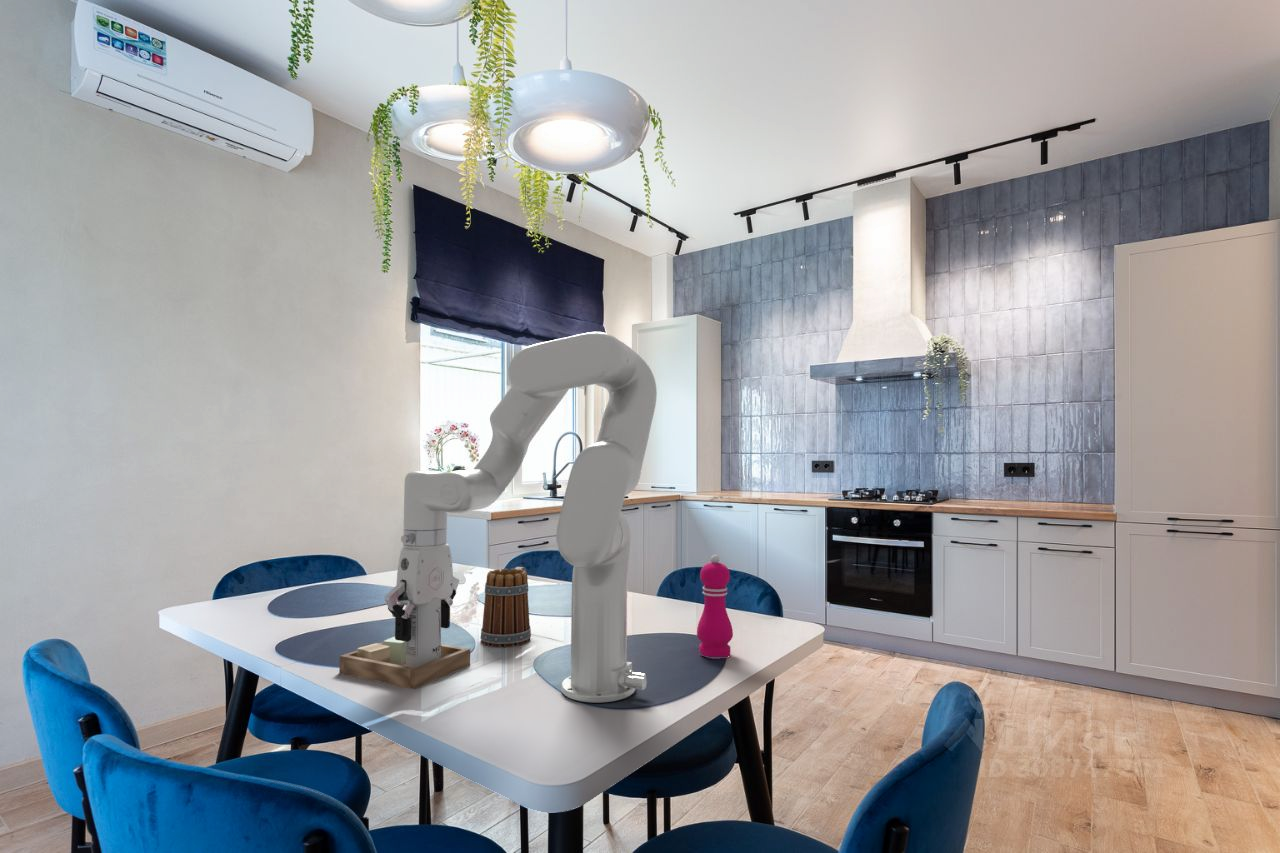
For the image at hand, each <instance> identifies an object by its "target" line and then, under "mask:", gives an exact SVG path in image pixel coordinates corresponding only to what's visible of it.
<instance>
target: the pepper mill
mask: <svg viewBox="0 0 1280 853" xmlns="http://www.w3.org/2000/svg"><path fill="white" fill-rule="evenodd" d="M710 561H711V562H708V563H706V564H705V565H703V566H702V568H701V569H700V574H699V579H700V581H701V583H702V584H703V586H702V592H701V593H702V594H703V596H704V605H703V606H704V607H703V611H702V613H701V615H700V619H699V620H698V624H697V627H696V628H697V629H696V636H697V638H698V640H699V641H700V642H701V643H700V644H699V647H698V651H699V652H700V654H702V655H704V656H708V657H728V656H729V657H731V645H729V643H730V642H731V640H733V636H734V632H733V630H734V628H733V626H732V623H731V620H730V617H729V615H728V612H727V607H726V596H727V595H728V587H727V585H728V583H729V582H730V579H731V575H730V574H731V573H730V570H729V568H728V567H727V566H726V565H725V564H723V563H722V562H720V556H718V554H713V555H712V556H711V557H710ZM699 652H698V653H699ZM700 654H699V655H700ZM729 657H728V658H729Z"/></svg>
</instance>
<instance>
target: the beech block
mask: <svg viewBox="0 0 1280 853" xmlns="http://www.w3.org/2000/svg"><path fill="white" fill-rule="evenodd" d="M378 643H379V642H375V643H371V644H368V645H365V646H361V647H357V648H356V650H357V657H360V658H366V659H371V660H376V661H381V662H386V663H390V647H389V646H386V645H382V644H378Z"/></svg>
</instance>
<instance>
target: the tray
mask: <svg viewBox="0 0 1280 853" xmlns="http://www.w3.org/2000/svg"><path fill="white" fill-rule="evenodd" d="M377 643H378V644H382V645H383V641H382V642H381V641H380V642H377ZM469 666H471V648H467V647H461V646H455V645H450V644H443V643H441V658H440V659H437V660H435V661H432V662H429V663H427V664H424V665H422V666H419V667H417V668H411V667H406V662H405V663H403V664H401V665H400V664H391V663H386V662H381V661H376V660H371V659H366V658H360V657H357V649H356V650H354V651H350V652H347V653H344V654H341V655H339V671H338V672H339V674H341V675H348V676H352V677H355V678H360V679H361V678H362V679H366V680H371V681H375V682H379V683H385V684H388V685H393V686H398V687H403V688H406V689H407V688H408V689H412V690H416V689H418V688H420V687H423V686H425V685H428V684H430V683H432V682H435V681H437V680H440V679H441V678H444V677H446V676H448V675H452V674H453V673H456V672H458V671H460V670H463V669H465V668H467V667H469Z"/></svg>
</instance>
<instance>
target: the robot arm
mask: <svg viewBox="0 0 1280 853" xmlns="http://www.w3.org/2000/svg"><path fill="white" fill-rule="evenodd" d="M507 370H508V371H507V373H508V380H509V381H510V384H511V386H510V388H509V389H508V391H507V392H506V393H505V394H504V396H503V397H502V399H501V400H500V401H499V403H498V404H497V405H496V407H495V408H493V411H492V412H491V414H490V415H489V416H490V417H489V421H490V426H491V430H492V431H491V432H492V438H491V441H490V444H489V445H488V448H487V450H486V451H485V453H484V454H483V456H482V457H481V458H480V459H479V461H478V463H477V464H476V465H475V466H474V467H473V469H462V470H461V469H459V470H451V471H445V472H443V471H440V470H414V471H409V472H408V473H406V475H405V477H404V483H403V484H404V485H403V486H404V487H403V488H404V490H403V491H404V492H403V535H402V536H401V537H400V541H401V542H402V544H403V545H402V548H401V549H400V554H399V559H398V565H397V573H396V574H397V575H396V584H395V586H394V587H393V588H392V589H391V590H390V591H388V593H386V594H385V596H384V601H385V603H386V604H385V605H386V606H387V610H388V611H389V612H390V613H391V617H392V618H395V620H394V625H395V626H394V636H395V639H396V640H400V641H406V642H408V641H410V640H411V618H408V617H409V615H410V613H411V611H412V609H413V607H414V606H415V605H416V606H421V605H426V604H428V603H430V602H431V600H432V599H433V598H434V597H439V598H440V600H441V629H450V626H451V625H450V624H451V606H453V604H454V598H455V596H456V594H457V589H458V586H459V584H460V580H459V578H457V577H455V576H454V573H453V572H454V570H453V560H452V559H453V558H452V553H451V547H450V544H449V543H447V535H448V534H447V532H448V531H447V529H448V513H452V514H462V513H463V514H464V513H467V512H472V511H476V510H482V509H487V508H488V507H490V506H491V505H492V504H494V503H495V502H496V501H497V500H498V499H499V498H500V497H501V496H502V494H503V493H504V491H505V490H506V489H507V487H508V486H509V485H510V483H511V482H512V481H513V480H514V478H515V476H516V475H517V474H518V472H519V471H520V468H521V466H522V464H523V462H524V459H525V457H526V455H527V452H528V448H529V445H530V443H531V442H532V440H533V439H534V437H535V436H536V434H538V432H539V430H540V429H541V427H543V425H544V424H545V422H546V421H547V420H548V419H549V417H550V416H551V414H552V413H553V412H554V410H555V409H556V408H557V407H558V405H559V404H560V403H561V401H562V400H563V398H564V397H565V396H566V394H568V391H569V390H571V389H575V388H579V387H581V388H582V387H587V386H590V385H591V386H592V385H596V386H598V387H601V388H603V389H606V390H607V392H608V397H609V398H608V401H607V404H606V405H605V406H606V407H605V409H604V411H603V413H602V414H603V415H602V419H601V423H600V428H599V430H598V431H599V432H598V435H597V439H596V442H594V443H592V444H590V445H588V446H586V447H585V448H584V449H582V450H581V452H579V453H578V455H577V457H575V460H574V462H573V464H572V466H571V469H570V473H569V475H568V480H567V483H566V488H565V493H564V497H563V500H562V505H561V508H560V512H559V516H558V517H559V518H558V520H557V526H556V531H555V532H556V533H555V539H556V540H555V542H556V546H557V550H558V552H559V553H560V556H561V557H562V559H563V560H564V561H566V562H567V563H568V564H570V565H571V566H573V569H572V575H571V576H572V580H571V614H570V615H571V623H570V624H571V626H570V627H571V628H570V629H571V631H570V632H571V633H570V634H571V636H570V639H571V640H570V642H571V643H570V675H569V676H568V677H566V678H565V679H564V680H563V681H562V682H561V687H560V688H561V693H562V694H563V695H564V696H566V698H569V699H572V700H574V701H578V702H583V703H597V704H598V703H599V704H600V703H610V702H616V701H621V700H623V699H626V698H629V697H630V696H631V695H632V694H634V693H635V691H636V689H638V690H641V691H644V690H646V688H647V685H648V684H647V683H648V682H647V681H648V680H647V675H646V674H647V673H642V672H635V671H634V670H633V662H632V661H627V659H628V658H627V656H628V654H627V653H628V652H627V650H628V649H627V647H628V646H627V645H628V644H627V643H628V641H627V640H628V635H627V634H628V632H627V631H628V621H627V620H628V575H629V574H628V573H629V571H628V570H629V560H630V559H629V558H630V549H631V528H630V523H629V522H628V518H627V517H626V515H625V514H624V513H623V512H622V508H623V504H624V501H625V496H627V495H629V494H631V493H632V492H633V491H634V490H635V489H636V487H637V486H638V484H639V481H640V478H641V474H642V472H641V471H642V468H643V462H644V459H645V455H646V451H647V446H648V442H649V436H650V433H651V427H652V423H653V419H654V415H655V411H656V405H657V393H658V392H657V382H656V379H655V376H654V373H653V371H652V370H651V367H650V365H648V363H647V362H646V360H644V359H643V358H642V356H640V355H639V353H637V352H636V351H635V350H634V349H632V347H630V346H628V345H627V344H626V343H624V342H623V341H621V340H619V339H618V337H617V338H616V337H615V336H614V335H613V334H612V335H611V334H609V333H606V332H602V331H591V332H585V333H579V334H575V335H571V336H570V335H569V336H567V337H562V338H556V339H553V340H548V341H543V342H538V343H535V344H532V345H528V346H525V347H523V348H522V349H520V350H518V352H516V353H515V354H514V356H513V357H512V358H511V360H510V362H509V365H508V369H507ZM407 599H409V600H407Z"/></svg>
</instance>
